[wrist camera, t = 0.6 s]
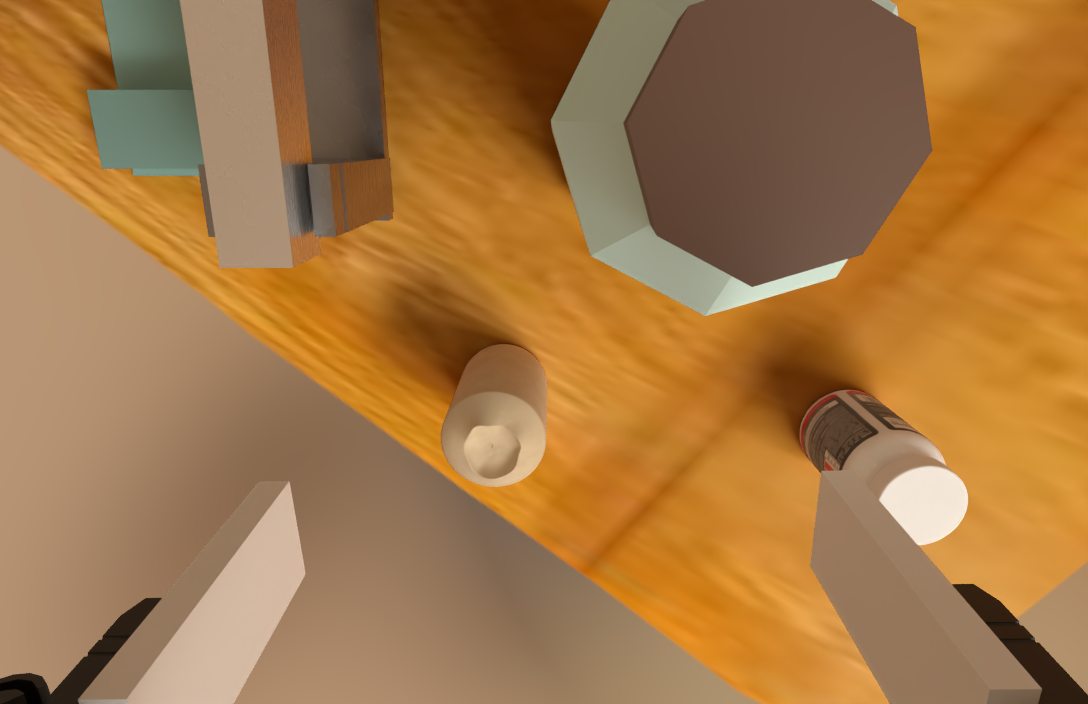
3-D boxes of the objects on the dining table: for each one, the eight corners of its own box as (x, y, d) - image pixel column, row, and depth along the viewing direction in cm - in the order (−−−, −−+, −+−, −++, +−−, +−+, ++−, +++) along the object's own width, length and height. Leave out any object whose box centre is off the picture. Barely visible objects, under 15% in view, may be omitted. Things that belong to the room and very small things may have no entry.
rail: (184, -291, 24) (126, -359, 21) (265, -291, 24) (220, -360, 21) (256, 253, 30) (219, 267, 27) (321, 253, 30) (293, 267, 27)
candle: (449, 358, 42) (419, 421, 33) (530, 331, 42) (523, 387, 32) (480, 433, 44) (460, 513, 34) (559, 407, 43) (560, 482, 34)
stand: (264, -158, 34) (125, -301, 23) (372, -158, 34) (286, -302, 23) (304, 218, 40) (209, 248, 29) (397, 218, 40) (338, 248, 29)
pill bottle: (806, 476, 45) (875, 567, 35) (788, 402, 43) (854, 476, 34) (892, 452, 44) (985, 537, 34) (876, 375, 42) (969, 442, 33)
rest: (78, -145, 34) (35, -171, 31) (213, -146, 34) (182, -172, 31) (136, 175, 39) (103, 177, 36) (254, 175, 39) (230, 178, 36)
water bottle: (516, 128, 38) (454, 106, 14) (655, 3, 36) (854, -266, 12) (623, 261, 40) (724, 434, 17) (760, 150, 38) (1101, 166, 14)
